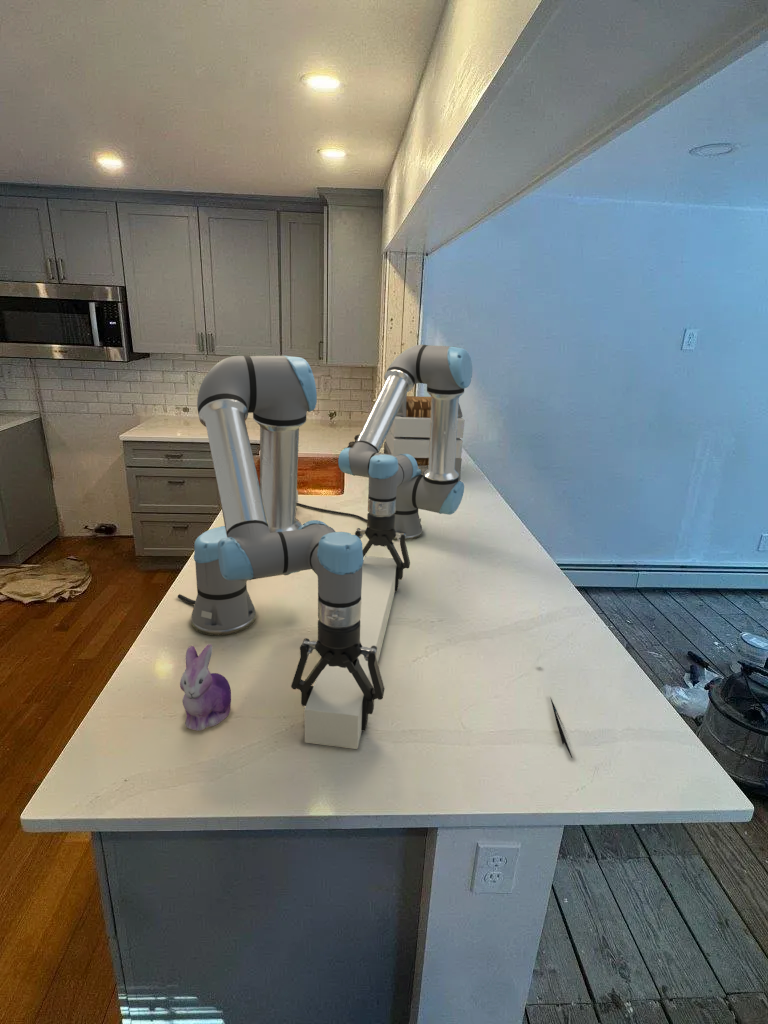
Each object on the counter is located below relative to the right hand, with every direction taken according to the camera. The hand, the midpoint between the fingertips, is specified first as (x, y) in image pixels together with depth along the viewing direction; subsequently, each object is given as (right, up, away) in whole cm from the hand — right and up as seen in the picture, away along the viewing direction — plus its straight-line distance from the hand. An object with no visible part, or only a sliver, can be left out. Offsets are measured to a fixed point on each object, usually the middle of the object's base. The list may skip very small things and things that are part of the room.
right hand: (378, 587), depth 160 cm
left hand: (-7, -19, -52) cm, 56 cm away
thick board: (-4, -10, -26) cm, 28 cm away
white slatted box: (+19, +40, +115) cm, 123 cm away
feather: (+36, -19, -46) cm, 61 cm away
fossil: (-13, +53, +147) cm, 157 cm away
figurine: (-32, -18, -52) cm, 63 cm away
